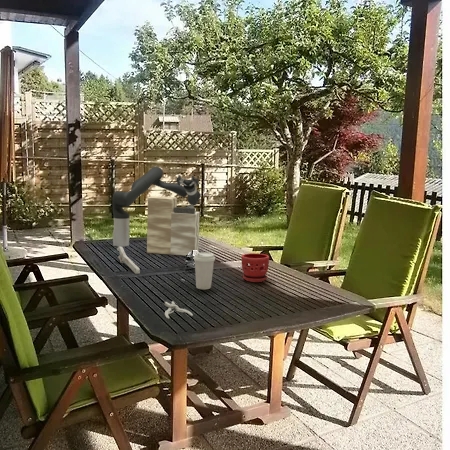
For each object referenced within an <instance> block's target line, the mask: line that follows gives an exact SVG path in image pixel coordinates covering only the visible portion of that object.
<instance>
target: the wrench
mask: <svg viewBox="0 0 450 450" xmlns="http://www.w3.org/2000/svg"><path fill="white" fill-rule="evenodd" d="M116 250H117V251H118V252H119V255H118V260H119V263H121V264H126V265H127V266H128V267H129V269H131V271H132V272H133V273H134V274H135V275H139V274H141V273H140V272H141V269H140V267H139V266H138V265H136V264H135V263H134V261H133V260H132V259H130V257H128V256H127V254H126V252H125V250H124V247H118V246H117V248H116Z"/></svg>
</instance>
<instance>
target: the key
mask: <svg viewBox="0 0 450 450" xmlns="http://www.w3.org/2000/svg"><path fill="white" fill-rule="evenodd" d="M196 209H197V208H195V205H190V204H189V205H187V206H185V207H181V206H180V207H179V206H177V207H174V213H184V214H195V212H197V211H196Z"/></svg>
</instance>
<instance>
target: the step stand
mask: <svg viewBox="0 0 450 450" xmlns="http://www.w3.org/2000/svg"><path fill="white" fill-rule="evenodd" d="M174 207H178V197H177V196H164V195H163V196H162V195H161V196H160V195H152V196H149V197H147V218H146V219H147V220H146V221H147V224H146V227H147V230H146V232H147V233H146V253H147V254H159V255H160V254H162V255H171V256H172V255H173V256H174V255H175V256H186V255H187V254H188V253H189V252H190V251H192V250H198V251H199V247H200V246H199V244H200V243H199V240H200V212H201V211H196V212H195V214H184V213H174Z"/></svg>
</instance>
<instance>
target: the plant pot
mask: <svg viewBox="0 0 450 450" xmlns="http://www.w3.org/2000/svg"><path fill="white" fill-rule="evenodd" d="M269 265H270V256H269V255H268V254H264V253H256V252H255V253H254V252H253V253H250V252H249V253H244V254H242V255H241V269H242V272H243V275H242V278H243V279H244V280H245V281H246V282H250V283H262V281H263V282H264V281H266V280H268V279H267V278H268V275H267V273H268V270H269Z"/></svg>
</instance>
